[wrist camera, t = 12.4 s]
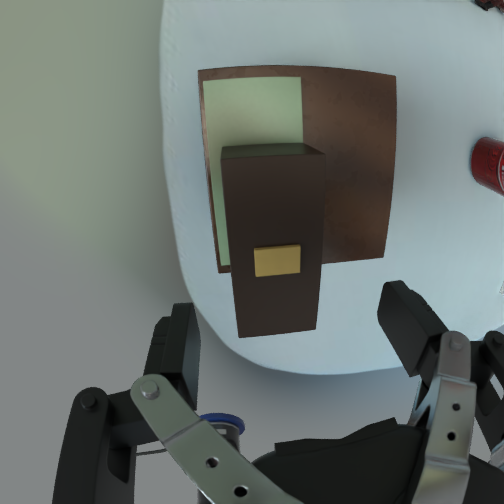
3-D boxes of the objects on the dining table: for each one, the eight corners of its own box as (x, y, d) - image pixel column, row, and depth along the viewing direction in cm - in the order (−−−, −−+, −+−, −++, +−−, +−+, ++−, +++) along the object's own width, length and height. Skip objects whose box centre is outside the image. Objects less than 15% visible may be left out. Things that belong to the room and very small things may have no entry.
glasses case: (221, 146, 17) (219, 160, 13) (303, 142, 17) (327, 154, 13) (236, 296, 22) (238, 341, 18) (301, 290, 22) (316, 332, 18)
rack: (335, 206, 32) (384, 259, 22) (220, 215, 32) (218, 275, 21) (336, 83, 26) (397, 75, 15) (209, 85, 25) (196, 69, 14)
